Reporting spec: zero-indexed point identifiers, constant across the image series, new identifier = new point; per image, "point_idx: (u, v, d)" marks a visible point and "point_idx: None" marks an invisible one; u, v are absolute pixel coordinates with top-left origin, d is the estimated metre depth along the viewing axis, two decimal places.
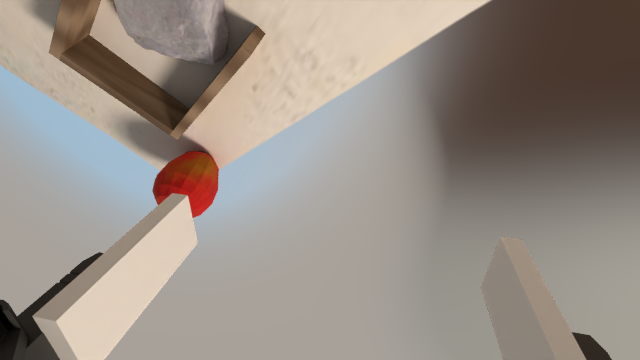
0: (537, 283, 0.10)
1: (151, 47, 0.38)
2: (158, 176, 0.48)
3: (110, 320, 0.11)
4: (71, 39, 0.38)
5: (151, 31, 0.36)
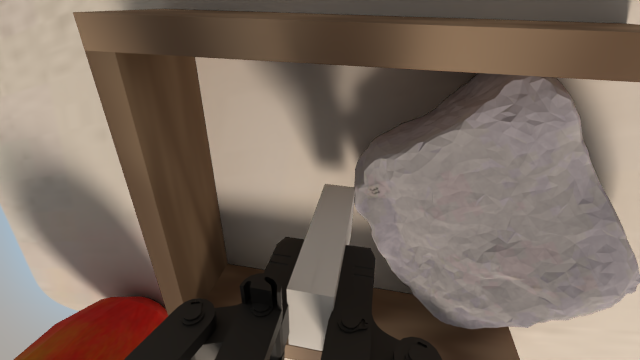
0: (343, 214, 0.13)
1: (373, 218, 0.15)
2: None
3: None
4: None
5: (432, 221, 0.14)
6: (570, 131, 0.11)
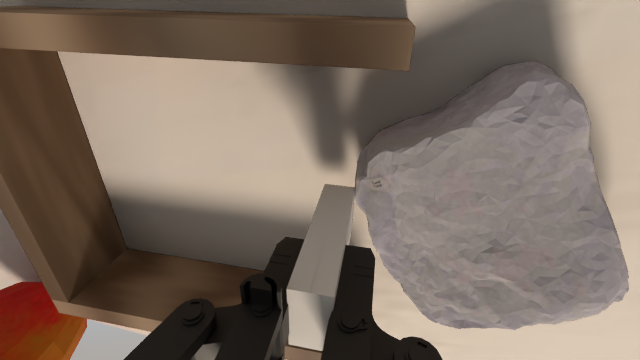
0: (344, 214, 0.13)
1: (371, 212, 0.15)
2: None
3: None
4: None
5: (432, 219, 0.14)
6: (579, 137, 0.11)
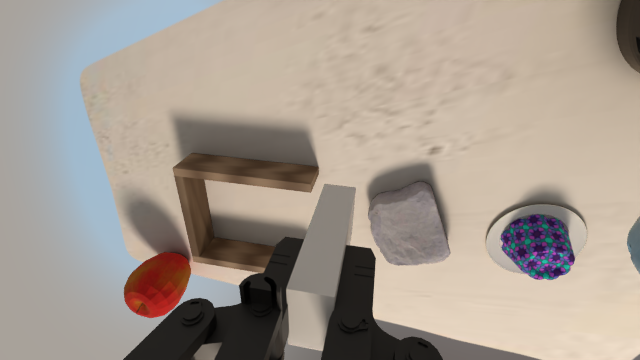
0: (344, 214, 0.13)
1: (373, 221, 0.45)
2: (149, 274, 0.51)
3: None
4: None
5: (392, 225, 0.44)
6: (433, 207, 0.41)
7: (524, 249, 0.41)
